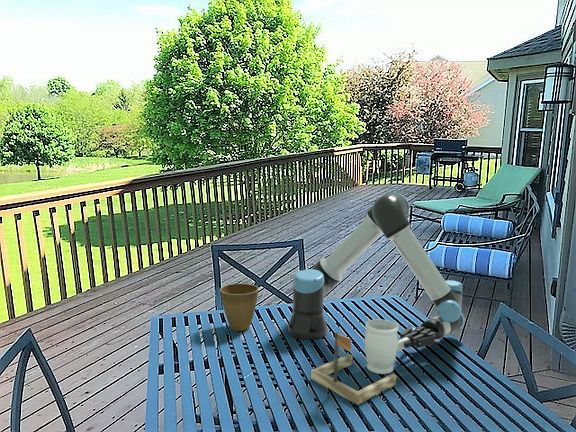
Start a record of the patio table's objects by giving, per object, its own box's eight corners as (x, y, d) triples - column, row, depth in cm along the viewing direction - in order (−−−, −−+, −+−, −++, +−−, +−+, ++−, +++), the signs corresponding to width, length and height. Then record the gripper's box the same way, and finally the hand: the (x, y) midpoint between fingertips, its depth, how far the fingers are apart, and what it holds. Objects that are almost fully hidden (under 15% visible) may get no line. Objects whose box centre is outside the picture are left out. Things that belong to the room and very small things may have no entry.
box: (348, 362, 157) (350, 311, 154) (395, 384, 143) (398, 328, 140) (311, 379, 146) (312, 323, 143) (357, 405, 132) (360, 344, 129)
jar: (399, 365, 156) (402, 322, 153) (392, 379, 146) (395, 333, 144) (368, 358, 160) (370, 316, 158) (359, 371, 151) (361, 327, 149)
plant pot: (265, 324, 189) (265, 285, 187) (246, 337, 176) (246, 296, 174) (233, 318, 195) (233, 280, 193) (213, 330, 182) (212, 290, 180)
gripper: (451, 344, 165) (412, 364, 150) (418, 333, 175) (379, 351, 159) (452, 324, 164) (413, 342, 148) (420, 314, 174) (380, 330, 158)
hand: (396, 346), depth 154 cm, fingers closed
